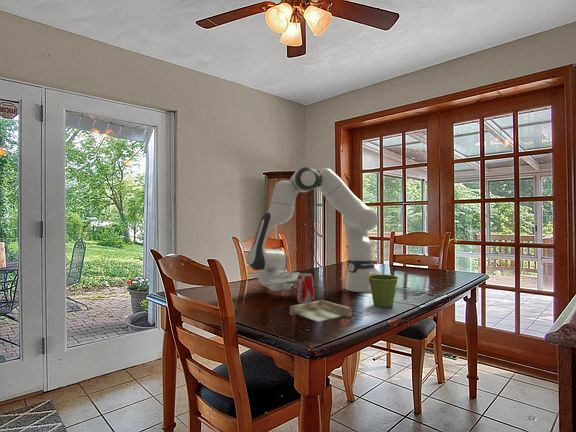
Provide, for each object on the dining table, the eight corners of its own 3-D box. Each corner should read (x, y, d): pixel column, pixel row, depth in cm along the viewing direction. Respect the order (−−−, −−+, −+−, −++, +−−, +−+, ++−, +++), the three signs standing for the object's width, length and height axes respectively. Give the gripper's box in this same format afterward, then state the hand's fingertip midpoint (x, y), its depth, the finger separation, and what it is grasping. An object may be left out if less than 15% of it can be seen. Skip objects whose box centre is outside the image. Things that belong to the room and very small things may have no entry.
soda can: (313, 306, 138) (312, 275, 138) (295, 305, 140) (295, 275, 140) (315, 302, 145) (315, 273, 145) (298, 301, 147) (298, 272, 147)
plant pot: (361, 305, 139) (360, 276, 139) (381, 300, 146) (380, 273, 146) (385, 311, 130) (385, 280, 130) (405, 306, 137) (405, 277, 137)
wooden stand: (322, 307, 136) (322, 299, 136) (351, 316, 124) (351, 307, 124) (289, 314, 127) (289, 306, 127) (317, 324, 115) (317, 315, 115)
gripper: (262, 276, 150) (280, 281, 139) (300, 271, 162) (320, 275, 151) (262, 291, 150) (280, 297, 139) (300, 285, 162) (320, 290, 151)
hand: (301, 285), depth 145 cm, fingers open, 8 cm apart
